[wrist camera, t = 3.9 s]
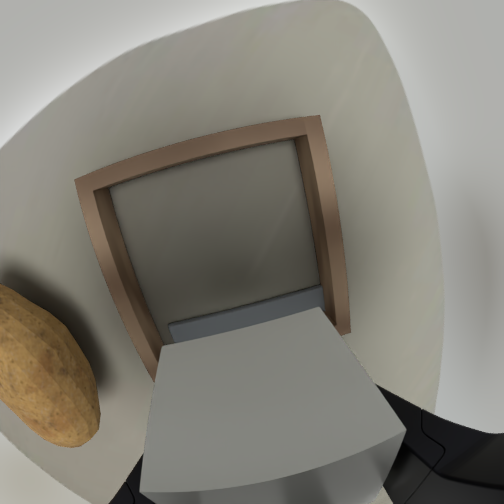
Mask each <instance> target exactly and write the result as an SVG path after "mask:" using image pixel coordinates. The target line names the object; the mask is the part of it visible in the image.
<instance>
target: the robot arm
mask: <svg viewBox="0 0 504 504" xmlns="http://www.w3.org/2000/svg"><path fill="white" fill-rule="evenodd" d="M375 385H376V386H377V388H378V389H379V390H380V392H381V393H382V395H383V396H384V398H385V399H386V400H387V402H388V403H389V405H390V406H391V408H392V409H393V411H394V412H395V413H396V415H397V416H398V418H399V419H400V421H401V422H402V424H403V425H404V427H405V428H406V433H405V435H404V438H403V441H402V443H401V446H400V448H399V451H398V453H397V456H396V458H395V460H394V462H393V465H392V467H391V469H390V471H389V473H388V476H387V478H386V480H385V482H384V484H383V487H384V488H385V490H386V492H387V494H388V495H389V497H390V499H391V500H392V502H393V504H504V433H498V434H493V433H486V432H482V431H479V430H475V429H471V428H469V427H465V426H462V425H459V424H456V423H453V422H451V421H448V420H445V419H443V418H440V417H438V416H436V415H434V414H432V413H430V412H428V411H426V410H424V409H422V410H421V408H420V407H418V406H416V405H414V404H412V403H410V402H408V401H406V400H404V399H402V398H401V397H399V396H397V395H395V394H393V393H391V392H389V391H388V390H386V389H384V388H382V387H380V386H378V385H377V384H375ZM143 455H144V453H143ZM143 455H142V456H141V458H140V459H139V461H138V462H137V464H136V465H135V467H134V468H133V470H132V471H131V473H130V474H129V476H128V477H127V479H126V482H124V483H123V485H122V486H121V488H120V489H119V491H118V492H117V494H116V495H115V496H114V498H113V499H112V500H111V501H110V503H109V504H156V503H154V502H153V501H152V500H150V499H149V498H147V497H146V496H144V495H143V494H142V493H140V481H141V472H142V463H143Z"/></svg>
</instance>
